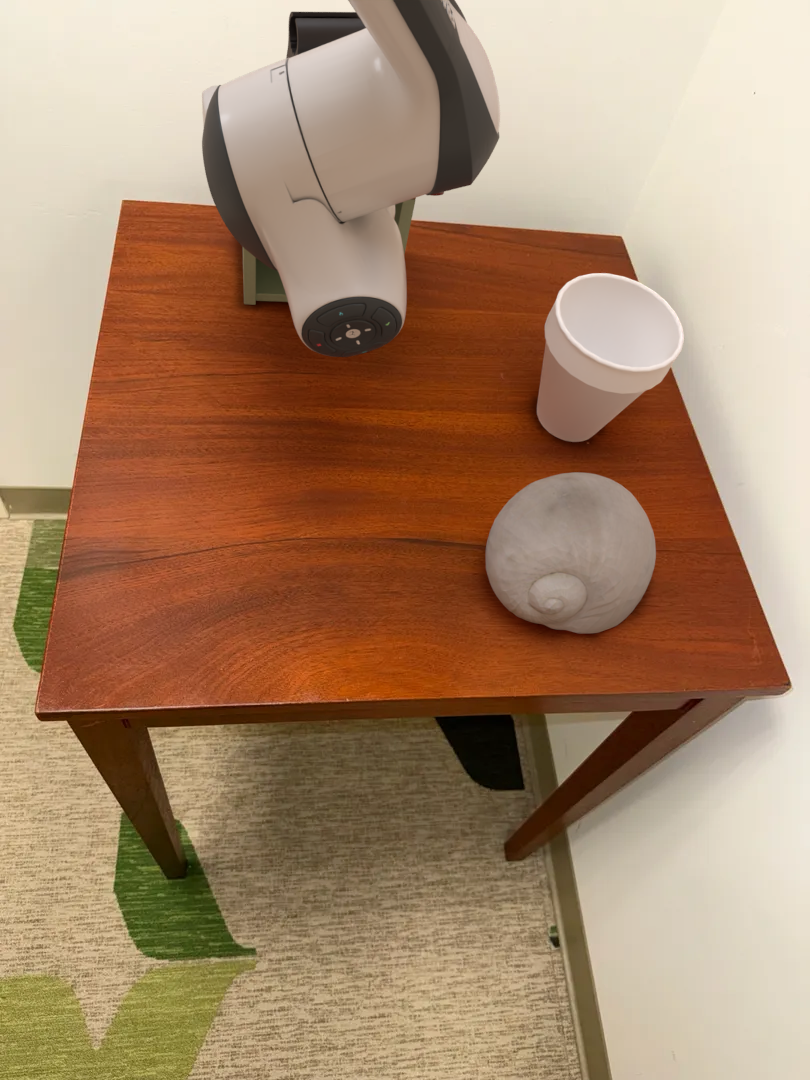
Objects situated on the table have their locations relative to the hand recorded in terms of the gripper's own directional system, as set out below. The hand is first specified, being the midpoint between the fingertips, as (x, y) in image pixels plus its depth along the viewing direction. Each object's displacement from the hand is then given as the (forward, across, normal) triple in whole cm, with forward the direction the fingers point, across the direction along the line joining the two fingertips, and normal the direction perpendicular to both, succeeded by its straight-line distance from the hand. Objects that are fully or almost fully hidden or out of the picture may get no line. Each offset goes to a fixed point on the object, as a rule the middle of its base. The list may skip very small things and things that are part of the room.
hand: (322, 83), depth 67 cm
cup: (-19, -26, +21) cm, 39 cm away
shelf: (0, -1, +21) cm, 21 cm away
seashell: (-37, -21, +21) cm, 48 cm away
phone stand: (-1, 0, +6) cm, 6 cm away
